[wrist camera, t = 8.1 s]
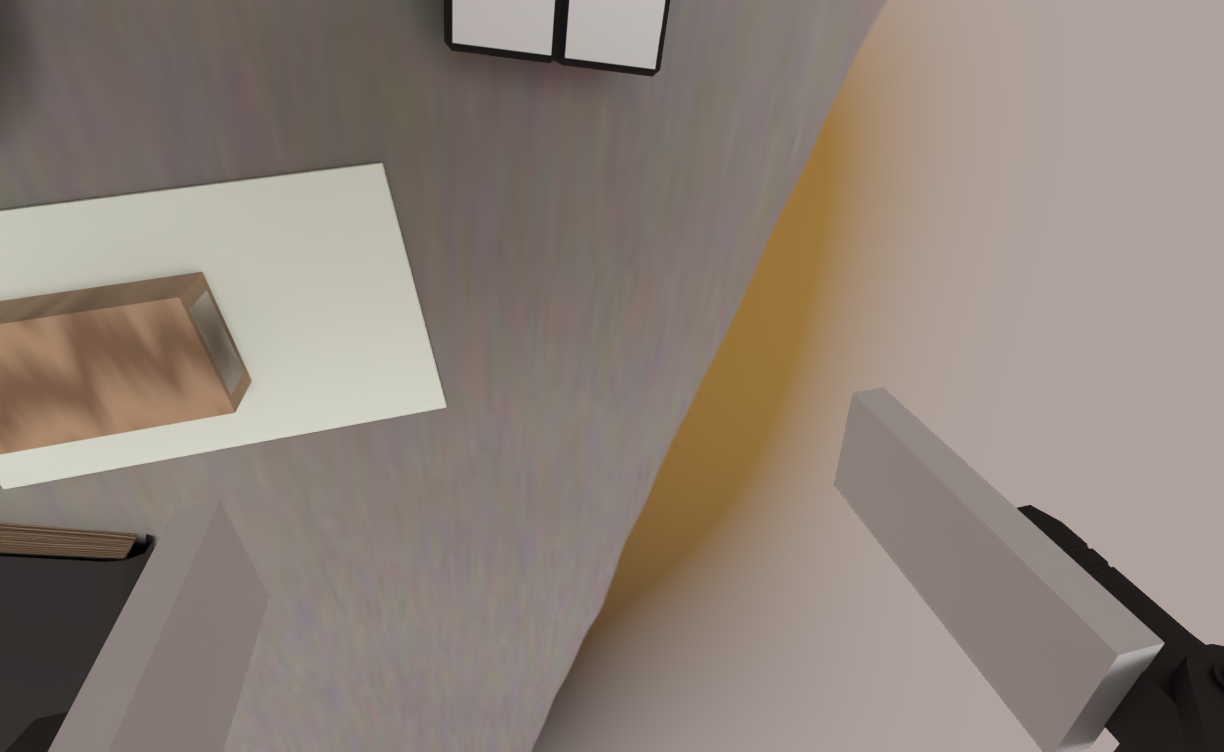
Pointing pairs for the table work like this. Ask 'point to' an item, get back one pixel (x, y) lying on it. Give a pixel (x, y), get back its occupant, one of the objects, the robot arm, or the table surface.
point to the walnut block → (114, 361)
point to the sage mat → (245, 303)
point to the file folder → (56, 614)
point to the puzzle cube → (562, 31)
